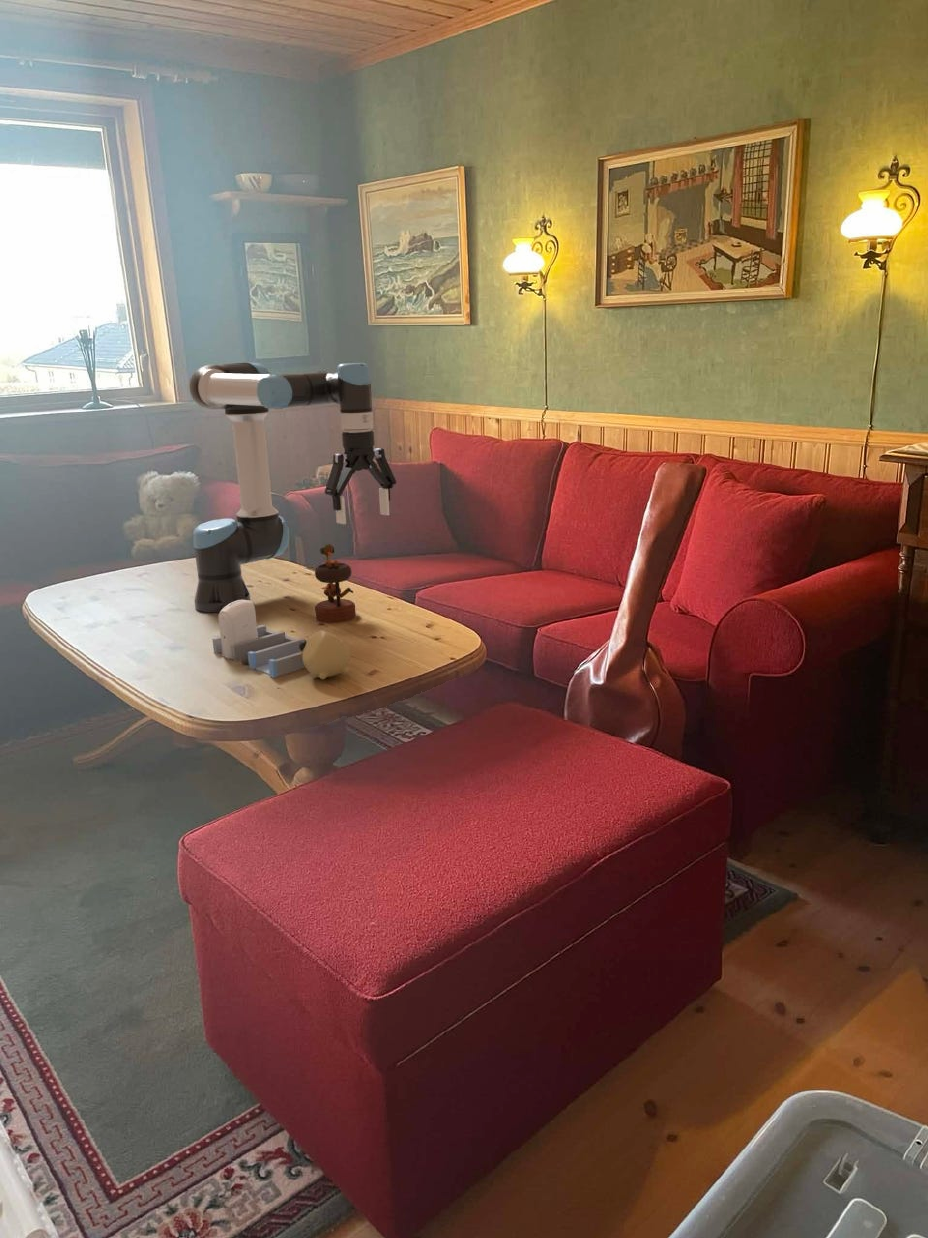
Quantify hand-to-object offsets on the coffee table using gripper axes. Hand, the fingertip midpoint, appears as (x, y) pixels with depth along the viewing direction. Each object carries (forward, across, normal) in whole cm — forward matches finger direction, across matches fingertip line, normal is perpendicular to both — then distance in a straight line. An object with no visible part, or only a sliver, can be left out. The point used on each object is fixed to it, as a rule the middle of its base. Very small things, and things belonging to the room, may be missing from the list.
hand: (363, 519), depth 227 cm
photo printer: (+28, -32, +9) cm, 43 cm away
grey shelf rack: (+28, -29, +1) cm, 40 cm away
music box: (+28, 0, +14) cm, 31 cm away
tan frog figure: (+28, -29, -20) cm, 45 cm away
